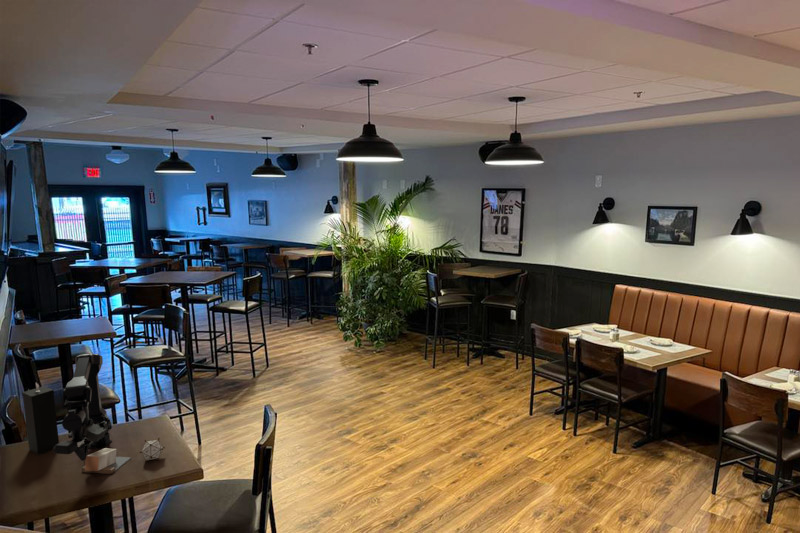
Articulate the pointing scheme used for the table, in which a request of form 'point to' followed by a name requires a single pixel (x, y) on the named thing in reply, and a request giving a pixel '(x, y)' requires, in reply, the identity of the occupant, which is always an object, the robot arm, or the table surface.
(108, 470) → the stop rail
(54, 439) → the tall black block
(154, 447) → the game die
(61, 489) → the table surface
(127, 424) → the table surface
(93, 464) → the marked block
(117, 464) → the mat
